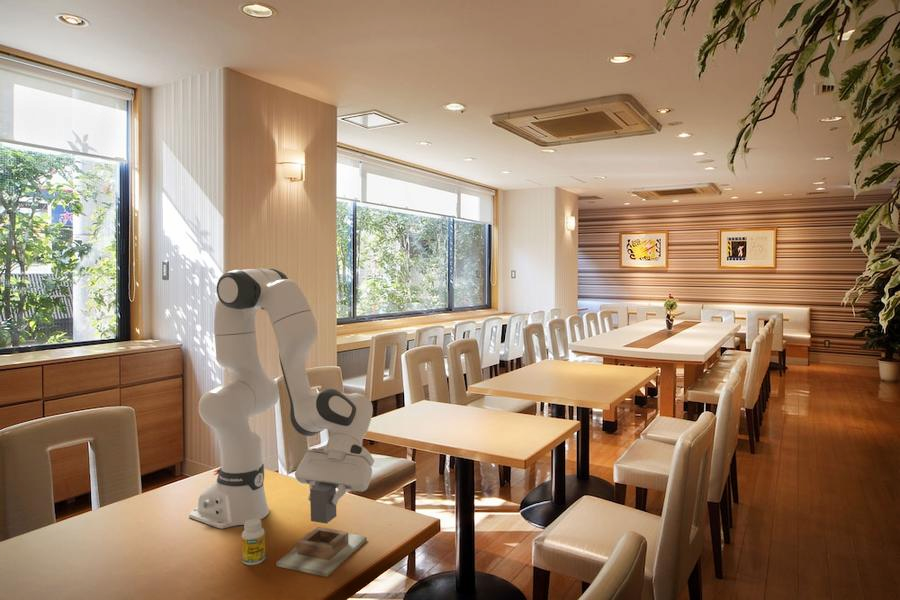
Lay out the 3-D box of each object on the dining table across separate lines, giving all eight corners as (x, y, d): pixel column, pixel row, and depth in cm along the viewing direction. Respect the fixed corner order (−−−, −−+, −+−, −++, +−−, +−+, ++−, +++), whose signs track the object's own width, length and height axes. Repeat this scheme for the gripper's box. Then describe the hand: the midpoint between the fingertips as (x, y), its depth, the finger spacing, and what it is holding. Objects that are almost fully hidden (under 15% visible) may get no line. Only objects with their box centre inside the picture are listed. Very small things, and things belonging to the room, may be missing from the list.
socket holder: (276, 566, 139) (276, 549, 139) (320, 532, 157) (320, 517, 156) (326, 576, 134) (326, 560, 134) (366, 540, 152) (366, 525, 151)
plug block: (310, 521, 143) (310, 489, 143) (321, 513, 148) (320, 482, 147) (326, 523, 142) (325, 491, 141) (336, 516, 146) (335, 485, 146)
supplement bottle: (262, 552, 145) (261, 515, 145) (268, 561, 141) (267, 523, 140) (239, 558, 142) (238, 520, 142) (245, 568, 138) (244, 528, 137)
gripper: (303, 442, 154) (281, 491, 145) (371, 449, 147) (352, 502, 138) (313, 453, 158) (292, 502, 150) (380, 461, 151) (362, 513, 143)
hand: (321, 502), depth 144 cm, fingers closed on plug block, 4 cm apart
